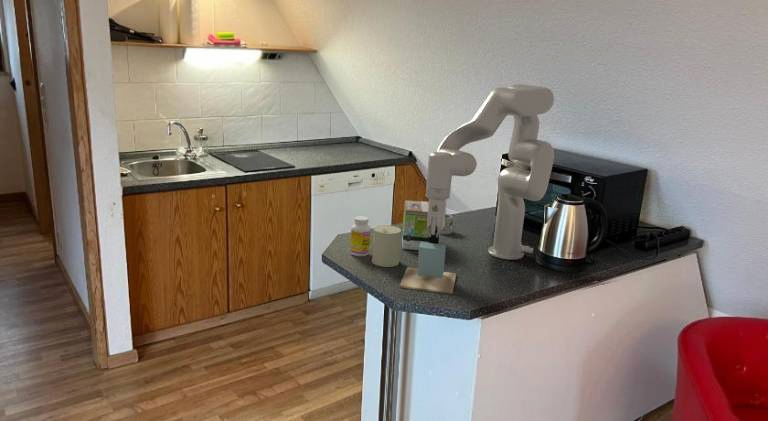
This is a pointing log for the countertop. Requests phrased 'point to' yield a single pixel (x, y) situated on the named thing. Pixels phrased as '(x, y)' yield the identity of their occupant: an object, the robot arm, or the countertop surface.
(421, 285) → the mat
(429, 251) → the slab
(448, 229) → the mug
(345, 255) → the countertop surface
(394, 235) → the can
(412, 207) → the tea box
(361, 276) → the countertop surface
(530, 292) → the countertop surface
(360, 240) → the supplement bottle
